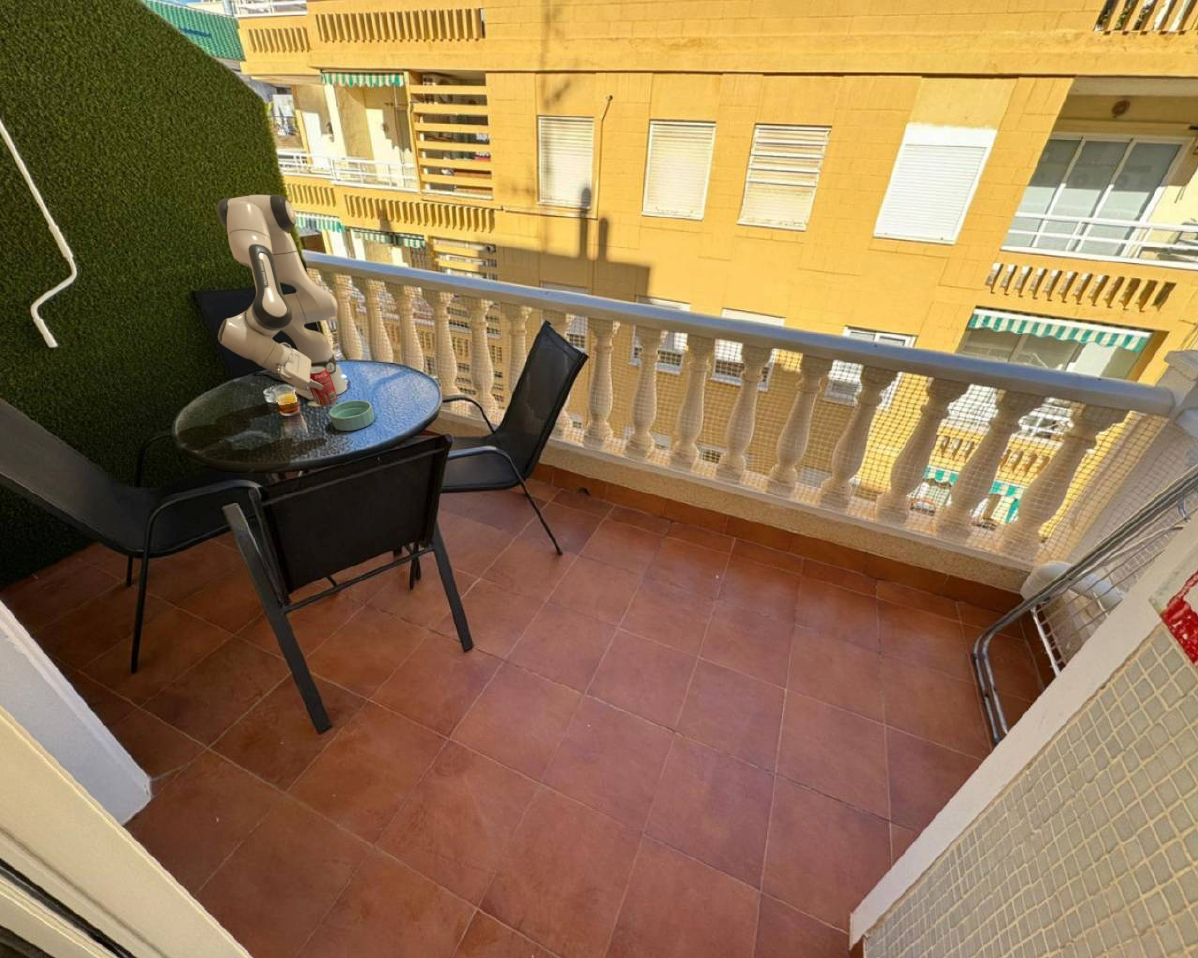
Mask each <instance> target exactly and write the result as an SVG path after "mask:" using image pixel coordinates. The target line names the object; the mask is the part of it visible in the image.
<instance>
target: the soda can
mask: <svg viewBox="0 0 1198 958" xmlns="http://www.w3.org/2000/svg"><path fill="white" fill-rule="evenodd" d="M310 372H311V373H310V379H312V380H313V381H315V382H320V383H321V384H323V389H322V390H319V389H317V388H313V387H310V390H311V393H312V395H313V398H314V399H313V400H314V402H315V404H316V405H319V406H321V407H328V406H332V405H334V404H335V403H336V402H337V401H338V395H337V394H336V391H335V388H334V385H333V382H332V379H331V376H330V374H329V372H328V371H327V370H326V368H325V367H324V366H314V367H311V371H310Z"/></svg>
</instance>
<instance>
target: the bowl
mask: <svg viewBox="0 0 1198 958" xmlns="http://www.w3.org/2000/svg"><path fill="white" fill-rule="evenodd" d="M328 415H329V418H330V420H331V423H332V426H333V428H335V429H336V430H338V431H343V432H344V431H346V432H348V431H349V432H350V431H355V430H361V429H363V428H366V427H367V426H369V425H371V424H372V423H373V422H374V421H375V420H376V416H375V413H374V409H373V406H372V404H371V402H369V401H368V400H361V399H354V400H347V401H343V402H341V403H337V404H336V405H334V406H332V408H330V409H329V411H328Z"/></svg>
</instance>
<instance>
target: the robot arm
mask: <svg viewBox="0 0 1198 958" xmlns="http://www.w3.org/2000/svg"><path fill="white" fill-rule="evenodd" d="M216 213H217V216H218V217H217V218H218V220H219V222H220V223H221V225H222V226H223V227H224V229H225V230H226V233H227V239H228V244H229V249H230V251H231V255H232V256H233V259H234V260H236V262H238V263H239V264H240V265H242V266H244V267H247V268H250V269H251V272H252V277H253V282H254V286H255V290H256V291H255V297H254V299H253V301H252V303H251V305H250V306H249V307H248V308H247V309H246V310H245V311H243V312H241V313H239V314H237V315H235V316H232V317H229V318H225V319H224V320H223V321H222V322H221V324H220V327H219V330H218V332H217V339H218V340H217V341H218V342H219V343H220V345H222V346H223V347H224V348H226V349H228V350H230V351H231V352H232V353H234V354H236V355H237V356H240V357H242V358H244V359H246V360H249V361H253V362H254V363H255V364H257V365H258V366H259V367H262V368H263V369H266V370H267V371H269V372H271V373H273V374H275V375H278V374H279V376H280V377H276V376H274V375H272V374H270V373H267V372H263V373H260V372H261V371H254V373H253V374H252V375H253V376H256V375H257V374H258V375H259V374H260V375H264V376H268V377H270V378H272V379H273V380H276V381H280V382H283V383H286V384H290V385H291V386H292V387H295V389H296V393H295V394H297V395H299V396H301V397H302V398H305V399H307V400H309V401H311V400H314V398H313V395H312V393H311V390H310V387H313V388H317V389H319V390H322V389H323V384H321V383H320V382H315V381H313V380H312V379H310V373H311V372H310V371H311V367H314V366H324V367H325V368H326V370H327V371H328V372H329V374H330V376H331V379H332V382H333V385H334V388H335V391H336V394H337V396H338V395H341V394H343V393H344V392H345V391H347V390H348V384H349V381H348V379H346V378H347V375H346V374H343V371H342V369H341V367H340V365H338V364H337V360H336V357H335V354H333V352H332V349H331V346H330V343H329V340H328V338H327V337H326V335H325V334H323V333H322V332H320V331H316V330H311V329H308V328H307V327H305V325H306V324H312V323H317V322H322V321H326V320H329V319H332V318H334V317H336V315H337V314H338V310H339V305H338V301H337V299H336V297H335V296H334V295H333V294H332V293H331V292H330V291H328V290H326V289H324V288H323V287H320V286H319V285H318V284H317V283H315V282H314V280H312V279H311V277H310V276H309V274H308V273H307V271H306V269H305V267H304V264H303V262H302V260H301V256H300V254H299V250H298V248H297V245H296V243H295V240H294V238H293V236H292V234H291V231H292V230H294V229H295V226H296V224H297V219H296V218H297V217H296V212H295V209H294V207H293V206H292V203H291V202H290V201H289V200H288V199H287V198H286V197H285V196H284V195H280V194H274V193H273V194H272V193H271V195H269V194H249V195H244V196H237V197H232V198H231V197H226V198H223V199H221V200H219V201H218V203H217V205H216ZM281 284H284V285H287V286H291V287H293V288H294V289H295V290H296V292H294V293H288V294H284V293H283V291H282V287H281ZM279 332H282V333H284V334H286V335H287V336H288V337H289V338H290V339H291V340H292V342H293V343H294V345H295V347H296V349H295V348H293V347H292V346H291V345H290V344H289V343H287V342H281V343H279V342H277V341H275V340H274V339H273V338H274V337H275V336H276V335H277V334H279Z"/></svg>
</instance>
